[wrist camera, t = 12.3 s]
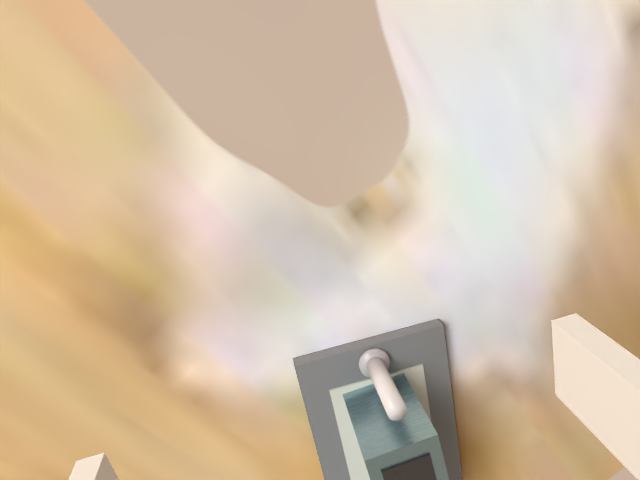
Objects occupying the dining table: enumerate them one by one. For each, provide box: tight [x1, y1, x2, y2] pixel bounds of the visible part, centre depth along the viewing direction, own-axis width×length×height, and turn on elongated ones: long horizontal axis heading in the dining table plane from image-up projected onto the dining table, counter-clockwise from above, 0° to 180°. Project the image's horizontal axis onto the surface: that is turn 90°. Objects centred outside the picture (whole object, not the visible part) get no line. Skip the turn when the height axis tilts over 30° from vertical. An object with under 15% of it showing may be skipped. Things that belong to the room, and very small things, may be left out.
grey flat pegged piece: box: [293, 319, 463, 480], centre depth 43 cm, size 14×20×8 cm
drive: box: [342, 373, 449, 480], centre depth 41 cm, size 6×12×8 cm, turn 16°
